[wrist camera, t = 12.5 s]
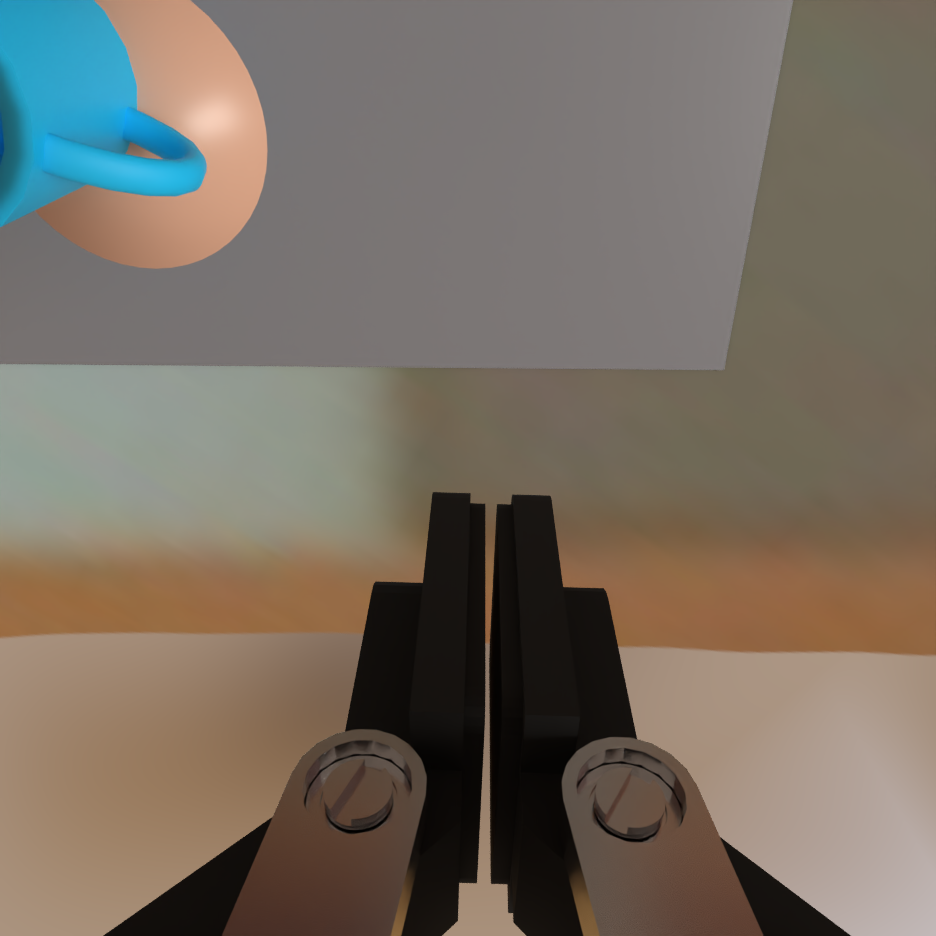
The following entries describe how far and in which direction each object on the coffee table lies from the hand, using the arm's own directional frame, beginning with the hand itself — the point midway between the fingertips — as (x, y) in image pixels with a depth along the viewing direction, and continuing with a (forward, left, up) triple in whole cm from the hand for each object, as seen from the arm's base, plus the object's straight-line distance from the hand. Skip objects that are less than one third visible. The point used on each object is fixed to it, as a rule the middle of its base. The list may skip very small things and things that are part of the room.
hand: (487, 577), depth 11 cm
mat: (-3, -6, -24) cm, 25 cm away
